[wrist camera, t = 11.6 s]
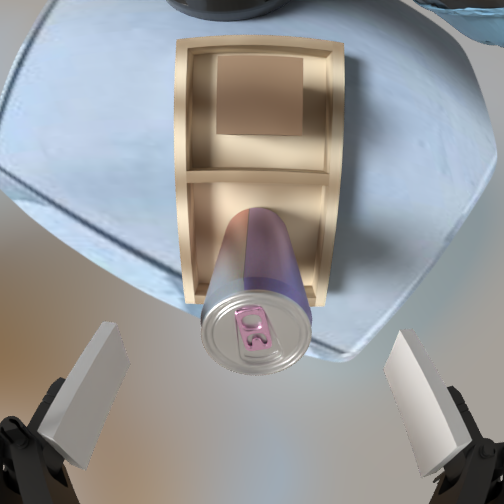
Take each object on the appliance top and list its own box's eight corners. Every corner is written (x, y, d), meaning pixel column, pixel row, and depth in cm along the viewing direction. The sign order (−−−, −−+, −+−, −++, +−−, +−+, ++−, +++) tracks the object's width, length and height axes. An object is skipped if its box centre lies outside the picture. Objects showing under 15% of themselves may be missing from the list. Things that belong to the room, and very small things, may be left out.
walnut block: (231, 82, 22) (217, 56, 13) (287, 83, 22) (303, 57, 13) (230, 134, 24) (216, 134, 15) (286, 136, 24) (301, 136, 15)
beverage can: (281, 200, 26) (309, 278, 12) (291, 257, 28) (319, 368, 15) (219, 212, 27) (180, 300, 13) (233, 268, 29) (215, 383, 15)
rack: (185, 49, 21) (176, 39, 18) (334, 52, 21) (343, 43, 18) (191, 286, 31) (185, 303, 28) (318, 289, 31) (324, 306, 28)
